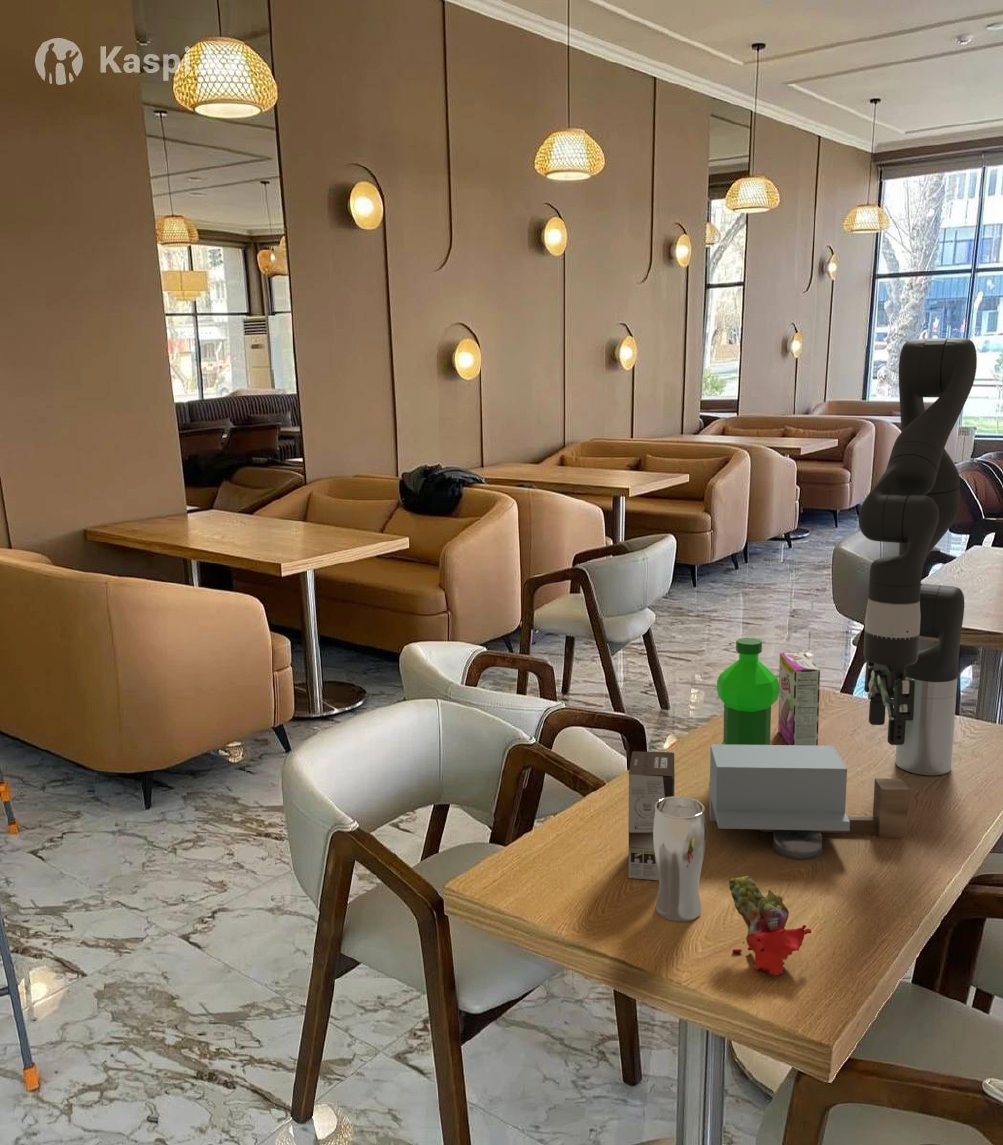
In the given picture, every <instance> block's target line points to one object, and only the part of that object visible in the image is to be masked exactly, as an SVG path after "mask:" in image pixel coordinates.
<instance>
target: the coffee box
mask: <svg viewBox="0 0 1003 1145" xmlns="http://www.w3.org/2000/svg"><path fill="white" fill-rule="evenodd" d="M628 768H629V769H628V879H629V878H630V879H637V880H638V879H640V880H650V881H659V878H658V872H657V866H656V861H655V855H654V848H653V820H654V809H655V807H654V805H655V803H656V802H657V801H658V800H660V799H662V798H665V797H671V796H675V785H676V784H675V783H676V781H675V780H676V779H675V773H676V772H675V752H672V751H671V752H670V751H636V750H635V751H634V750H633V751H632V752H631V756H630V762H629V767H628Z"/></svg>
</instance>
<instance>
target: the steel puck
mask: <svg viewBox="0 0 1003 1145" xmlns="http://www.w3.org/2000/svg"><path fill="white" fill-rule="evenodd" d="M821 833H822V832H819V831H817V830H774V832H773V840H772V842H773V843H772V848H773V851H775V853H777V854H778V855H780V856H781V857H784V858H787V859H790V860H797V861H810V860H814V859H817V858H818V857H820V856H821V854H822V852H823V851H822V850H823V849H822V848H823V836H822V835H823V834H821Z"/></svg>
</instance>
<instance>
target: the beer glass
mask: <svg viewBox="0 0 1003 1145" xmlns="http://www.w3.org/2000/svg"><path fill="white" fill-rule="evenodd" d="M654 807H655V809H654V820H653V848H654V855H655V861H656V866H657V872H658V878H659V880H658V891H657V897H656V901H655V910H656V913H657V914H659V916H661V917H662V918H664V919H665V920H668V921H672V922H676V923H677V922H678V923H679V922H680V923H684V922H685V923H686V922H691V921H693V920H696V919H697V918H699V917H700V916H701V913H702V911H703V910H702V908H703V907H702V902H701V898H700V879H701V874H702V870H703V869H702V868H703V863H704V859H705V855H706V854H705V853H706V845H707V826H706V812H705V810H706V808H705V805H704V804H703V803H702V802H701V801H699V800H697V799H696V798H692V797H688V796H683V795H674V796H671V797H665V798H662V799H660V800H658V801H657V802H656V803H655V805H654Z"/></svg>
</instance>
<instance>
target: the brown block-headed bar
mask: <svg viewBox="0 0 1003 1145" xmlns="http://www.w3.org/2000/svg"><path fill="white" fill-rule="evenodd" d="M873 786H874V787H873V804H872V805H873V806H872V816H849V815H847V817H848V819H849V821H850V831H823V830H817V831H819V832H820V833H824V834H825V833H827V834H829V833H830V834H832V833H834V834H835V833H836V834H837V833H838V834H871V835H872V834H873V835H874V834H876V836H878V838H879V839H907V832H908V829H907V828H908V816H909V815H908V814H909V798H910V797H909V796H910V789H909V787H908V786H907V785H906V783H905V782H904V781H903V779H902V778H874V784H873ZM760 832H773V833H774V830H771V829H760Z"/></svg>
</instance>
